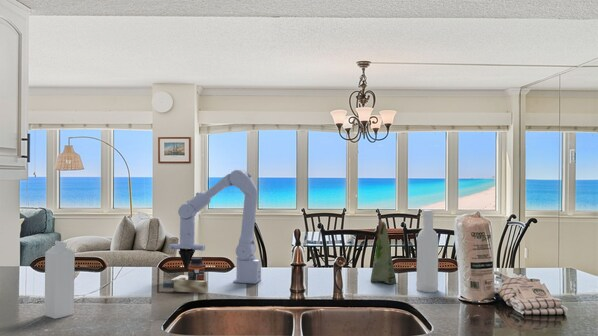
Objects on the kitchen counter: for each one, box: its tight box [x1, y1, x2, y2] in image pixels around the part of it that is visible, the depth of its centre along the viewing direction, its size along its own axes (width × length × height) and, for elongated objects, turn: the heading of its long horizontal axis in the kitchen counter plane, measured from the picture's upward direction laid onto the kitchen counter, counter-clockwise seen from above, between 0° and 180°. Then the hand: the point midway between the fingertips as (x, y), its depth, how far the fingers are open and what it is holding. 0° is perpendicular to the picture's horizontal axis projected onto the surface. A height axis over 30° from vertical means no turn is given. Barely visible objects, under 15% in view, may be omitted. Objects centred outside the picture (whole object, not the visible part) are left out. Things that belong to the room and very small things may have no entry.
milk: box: [43, 240, 76, 320], centre depth 155 cm, size 6×6×22 cm
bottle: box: [415, 209, 439, 293], centre depth 195 cm, size 8×8×30 cm
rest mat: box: [170, 274, 188, 282], centre depth 208 cm, size 9×9×1 cm
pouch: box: [370, 219, 397, 285], centre depth 208 cm, size 11×12×25 cm
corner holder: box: [173, 278, 208, 294], centre depth 188 cm, size 12×5×4 cm, turn 79°
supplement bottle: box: [187, 256, 206, 281], centre depth 192 cm, size 6×6×11 cm
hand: (186, 267), depth 208 cm, fingers closed
